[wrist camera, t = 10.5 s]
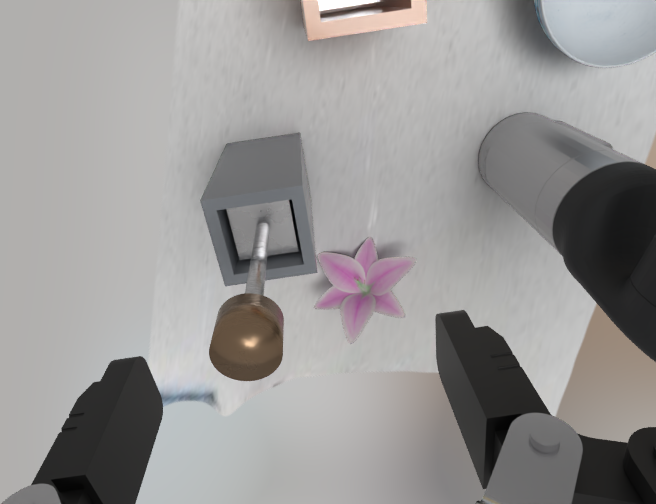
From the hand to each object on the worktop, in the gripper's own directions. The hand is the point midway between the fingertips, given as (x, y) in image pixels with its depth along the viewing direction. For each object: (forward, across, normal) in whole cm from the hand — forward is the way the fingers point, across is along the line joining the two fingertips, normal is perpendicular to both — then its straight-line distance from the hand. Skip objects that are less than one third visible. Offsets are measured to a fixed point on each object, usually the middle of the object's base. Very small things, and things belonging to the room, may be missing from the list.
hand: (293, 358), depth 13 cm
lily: (+40, -5, +22) cm, 46 cm away
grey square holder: (+40, +4, +8) cm, 41 cm away
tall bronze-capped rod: (+26, +4, +8) cm, 28 cm away
